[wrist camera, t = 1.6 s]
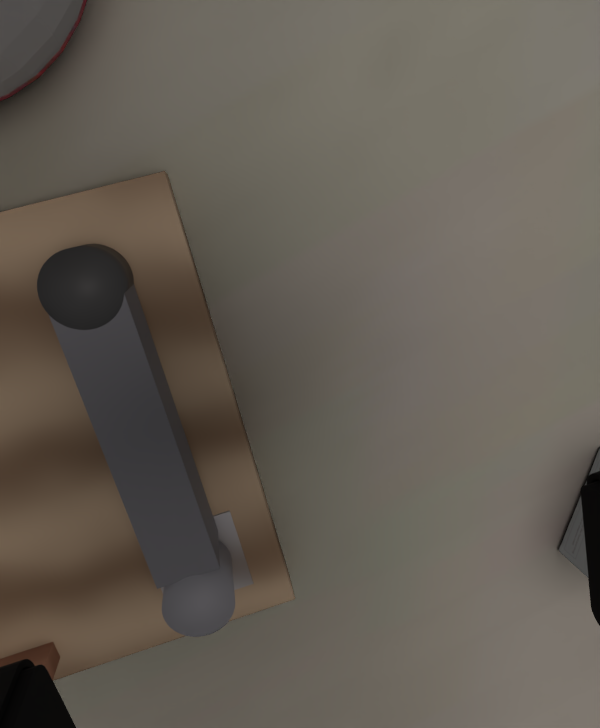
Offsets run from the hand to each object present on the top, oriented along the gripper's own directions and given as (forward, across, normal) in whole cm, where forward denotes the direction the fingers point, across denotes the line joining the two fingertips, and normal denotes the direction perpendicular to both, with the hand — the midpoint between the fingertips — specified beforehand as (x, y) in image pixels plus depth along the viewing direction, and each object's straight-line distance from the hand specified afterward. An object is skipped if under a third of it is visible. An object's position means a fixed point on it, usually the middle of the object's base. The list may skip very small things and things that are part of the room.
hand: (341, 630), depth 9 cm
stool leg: (+16, +5, +2) cm, 17 cm away
